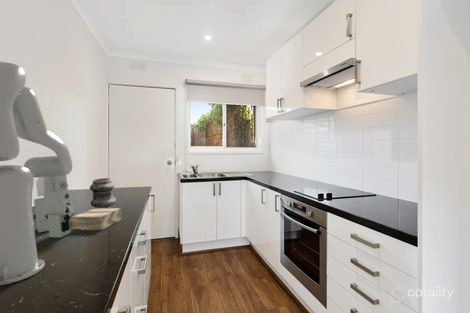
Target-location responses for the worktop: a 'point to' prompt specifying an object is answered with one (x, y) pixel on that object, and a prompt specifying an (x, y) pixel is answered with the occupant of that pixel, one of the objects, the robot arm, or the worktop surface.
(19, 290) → the worktop surface
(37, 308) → the worktop surface
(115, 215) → the birch block
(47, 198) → the robot arm
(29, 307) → the worktop surface
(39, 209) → the skincare box
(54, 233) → the sage block
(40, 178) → the alcohol
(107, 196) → the apothecary jar
